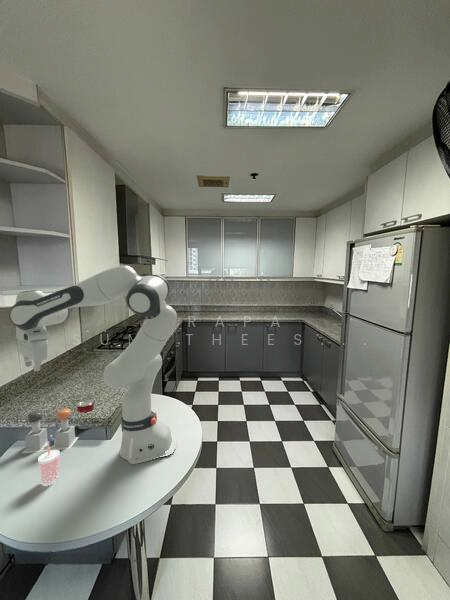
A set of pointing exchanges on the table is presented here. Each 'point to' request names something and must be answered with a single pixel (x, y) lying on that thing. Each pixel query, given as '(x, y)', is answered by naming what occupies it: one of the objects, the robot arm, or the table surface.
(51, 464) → the beverage cup
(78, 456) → the table surface
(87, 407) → the soda can
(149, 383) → the robot arm
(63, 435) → the mount
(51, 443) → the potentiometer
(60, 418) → the knob orange
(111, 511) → the table surface
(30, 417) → the knob black
